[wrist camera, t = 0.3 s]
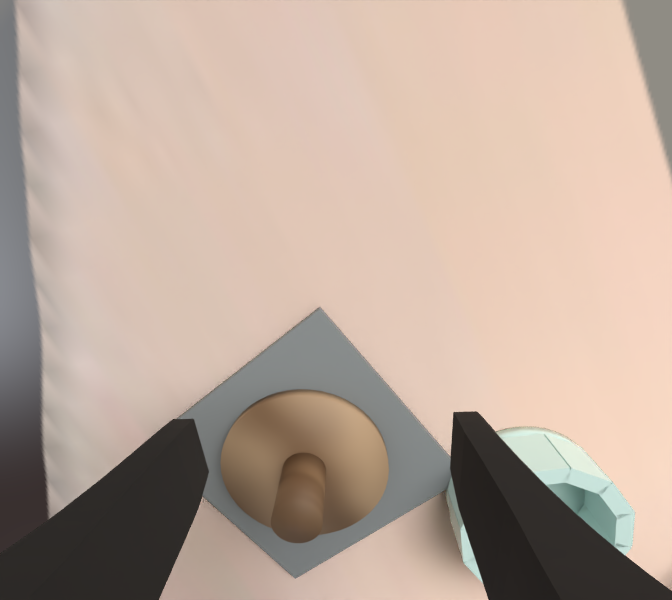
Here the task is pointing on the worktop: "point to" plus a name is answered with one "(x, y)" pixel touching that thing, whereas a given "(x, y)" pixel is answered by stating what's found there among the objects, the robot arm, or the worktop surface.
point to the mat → (341, 380)
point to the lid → (305, 463)
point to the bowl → (560, 487)
